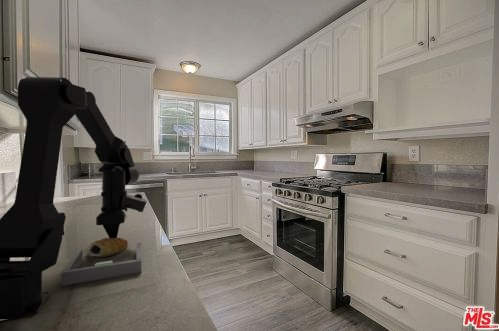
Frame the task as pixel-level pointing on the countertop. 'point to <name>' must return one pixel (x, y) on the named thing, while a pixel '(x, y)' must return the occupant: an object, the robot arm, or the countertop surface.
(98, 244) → the pastry
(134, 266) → the dock
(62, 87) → the robot arm
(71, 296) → the countertop surface
